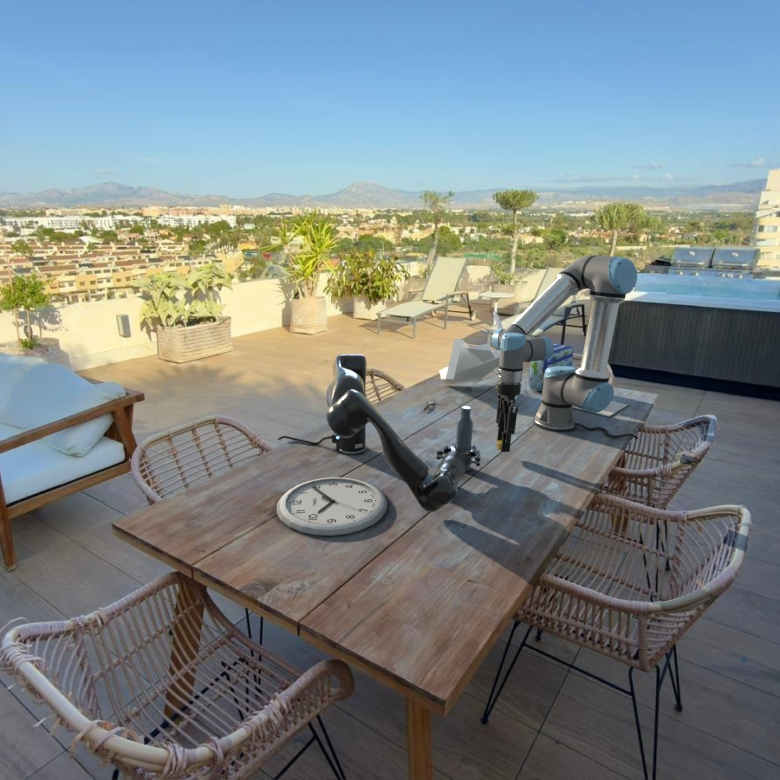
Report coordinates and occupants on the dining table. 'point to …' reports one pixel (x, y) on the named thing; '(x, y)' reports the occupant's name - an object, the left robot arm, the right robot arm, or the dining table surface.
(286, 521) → the wall clock
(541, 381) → the lunch box
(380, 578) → the dining table surface
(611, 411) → the invitation card
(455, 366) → the white plastic object
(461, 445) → the bottle
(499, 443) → the cap
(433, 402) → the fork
